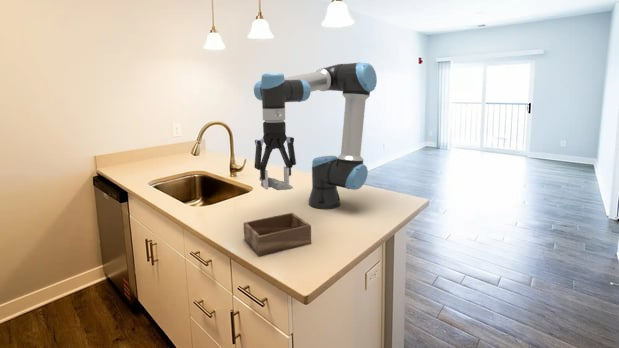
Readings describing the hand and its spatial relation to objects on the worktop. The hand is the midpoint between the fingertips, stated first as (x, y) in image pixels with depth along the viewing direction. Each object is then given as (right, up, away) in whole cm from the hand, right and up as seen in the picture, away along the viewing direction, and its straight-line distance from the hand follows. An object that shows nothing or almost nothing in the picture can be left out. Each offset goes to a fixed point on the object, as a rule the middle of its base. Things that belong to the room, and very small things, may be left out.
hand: (276, 186), depth 122 cm
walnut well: (0, -20, +5) cm, 21 cm away
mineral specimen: (0, -1, 0) cm, 1 cm away
